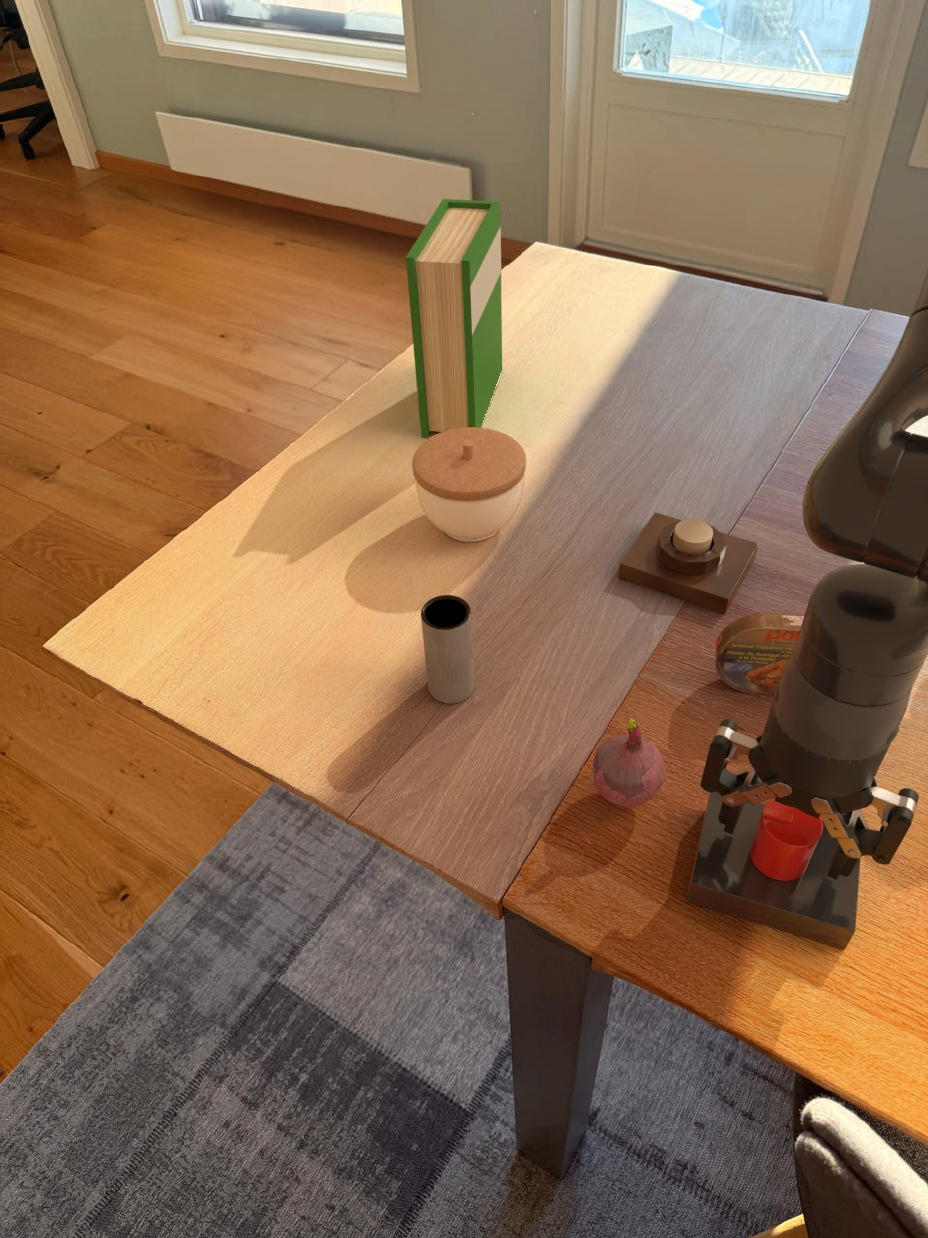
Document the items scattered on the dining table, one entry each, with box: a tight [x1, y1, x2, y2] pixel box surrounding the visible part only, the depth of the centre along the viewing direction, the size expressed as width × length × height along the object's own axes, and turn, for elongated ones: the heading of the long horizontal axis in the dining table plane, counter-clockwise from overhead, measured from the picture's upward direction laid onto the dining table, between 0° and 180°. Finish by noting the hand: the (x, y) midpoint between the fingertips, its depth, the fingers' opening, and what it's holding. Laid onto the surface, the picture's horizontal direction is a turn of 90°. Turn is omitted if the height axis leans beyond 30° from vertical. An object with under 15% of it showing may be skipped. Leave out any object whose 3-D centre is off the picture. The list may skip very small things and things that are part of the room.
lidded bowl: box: [411, 427, 527, 543], centre depth 103 cm, size 13×13×11 cm
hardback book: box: [405, 198, 503, 438], centre depth 117 cm, size 18×7×24 cm, turn 167°
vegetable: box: [592, 718, 666, 808], centre depth 75 cm, size 6×6×10 cm
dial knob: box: [750, 798, 823, 881], centre depth 69 cm, size 4×4×5 cm
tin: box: [715, 612, 805, 696], centre depth 84 cm, size 15×3×8 cm, turn 82°
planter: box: [420, 594, 475, 705], centre depth 85 cm, size 4×4×10 cm
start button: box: [673, 518, 713, 555], centre depth 96 cm, size 4×4×2 cm
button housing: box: [617, 512, 759, 615], centre depth 98 cm, size 12×10×4 cm
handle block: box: [685, 791, 862, 951], centre depth 72 cm, size 12×9×3 cm
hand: (781, 845), depth 70 cm, fingers open, 7 cm apart
